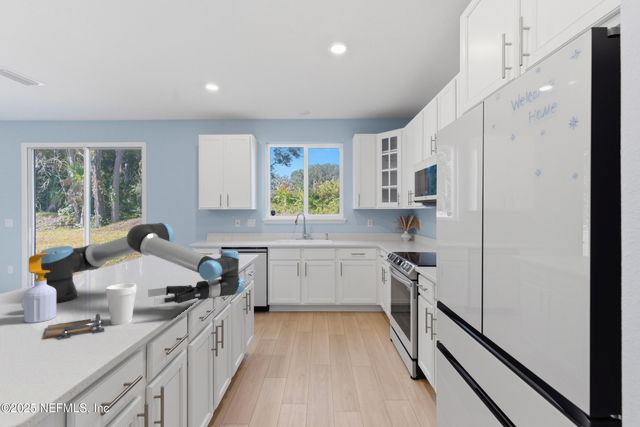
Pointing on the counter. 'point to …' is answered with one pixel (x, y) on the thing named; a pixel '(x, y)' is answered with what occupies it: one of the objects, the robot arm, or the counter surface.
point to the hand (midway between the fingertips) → (151, 297)
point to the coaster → (58, 328)
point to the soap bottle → (39, 295)
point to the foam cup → (121, 302)
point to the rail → (95, 323)
